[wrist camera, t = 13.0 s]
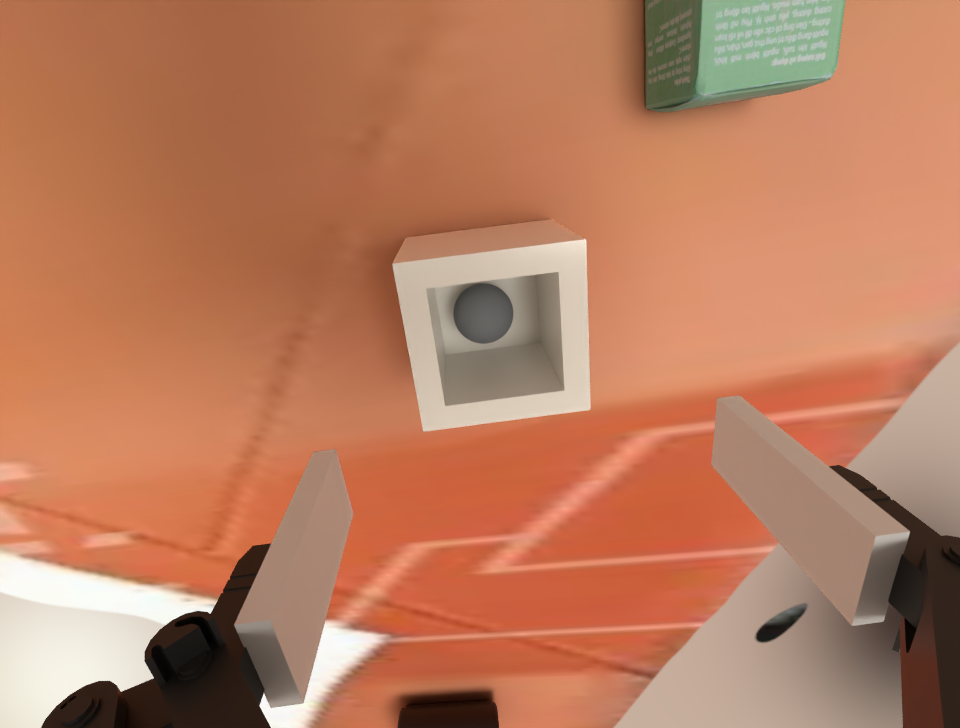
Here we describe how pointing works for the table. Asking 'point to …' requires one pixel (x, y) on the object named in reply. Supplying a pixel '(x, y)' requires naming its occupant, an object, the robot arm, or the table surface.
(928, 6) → the table surface
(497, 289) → the ball
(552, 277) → the tub
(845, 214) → the table surface
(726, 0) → the box
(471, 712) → the end cap
